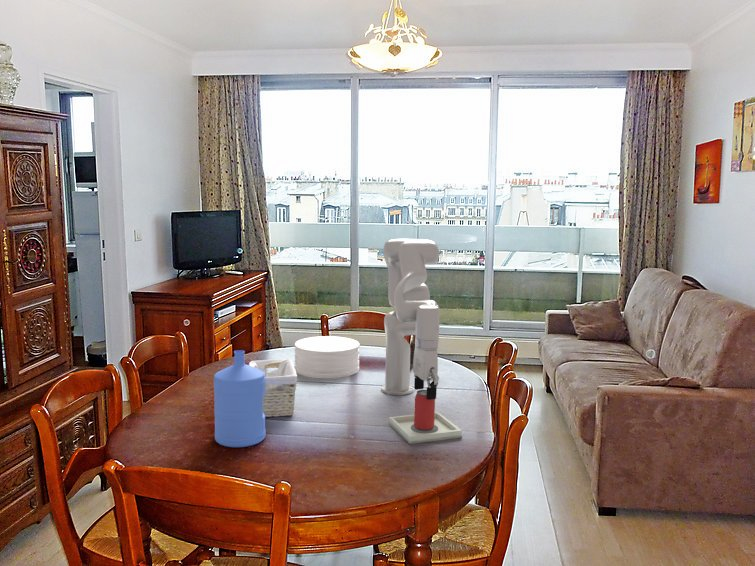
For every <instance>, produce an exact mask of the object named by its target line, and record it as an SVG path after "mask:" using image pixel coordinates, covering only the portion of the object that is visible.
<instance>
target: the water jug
mask: <svg viewBox="0 0 755 566" xmlns="http://www.w3.org/2000/svg"><path fill="white" fill-rule="evenodd" d="M245 353H246V351H245V350H243V349H241V350H239V349H238V350H234V351H233V354H234V356H233V359H234V363H232V364H231V365H230V366H227V367H226V368H223V369H221V370H218V371H217V372H216V373H215V374H214V375H213V392H214V393H213V394H214V396H213V397H214V407H213V411H214V440H215V442H216V443H218V444H219V445H220V446H224V447H227V448H245V447H251V446H255V445H257V444H259V443H261V442H262V441H263V440H265V438H266V436H267V435H266V433H267V431H266V417H265V415H264V413H263V396H264V395H265V374H264V372H263V371H262V370H259V369H257V368H254V367H252V366H249V364H246V363H245Z"/></svg>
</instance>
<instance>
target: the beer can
mask: <svg viewBox="0 0 755 566" xmlns="http://www.w3.org/2000/svg"><path fill="white" fill-rule="evenodd" d="M426 395H427V389H418V390H416V394H415V397H414V410H413V411H414V413H413V415H414V426H415V428H417V429H419V430H431V429H433V428H434V417H435V412H436V411H435V410H436V399H430V400H427V399H426Z"/></svg>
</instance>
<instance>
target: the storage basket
mask: <svg viewBox="0 0 755 566" xmlns="http://www.w3.org/2000/svg"><path fill="white" fill-rule="evenodd" d="M248 365H249V366H252V367H254V368H257V369H259V370H262V371H263V372H264V374H265V395H264V396H263V413H264V415H265V418H271V417H275V418H276V417H287V416H293V415H294V412H295V401H296V400H295V398H296V390H297V382H298V373H297V372H296V370H295V364H294V363H293V361H292V359H290V358H287V359H284V358H283V359H264V360H263V359H260V360H251V361H250V362H249V363H248ZM269 368H270V369H273V368H274V369H275V370H272V371H270V372H266V369H269ZM276 368H277V369H276Z"/></svg>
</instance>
